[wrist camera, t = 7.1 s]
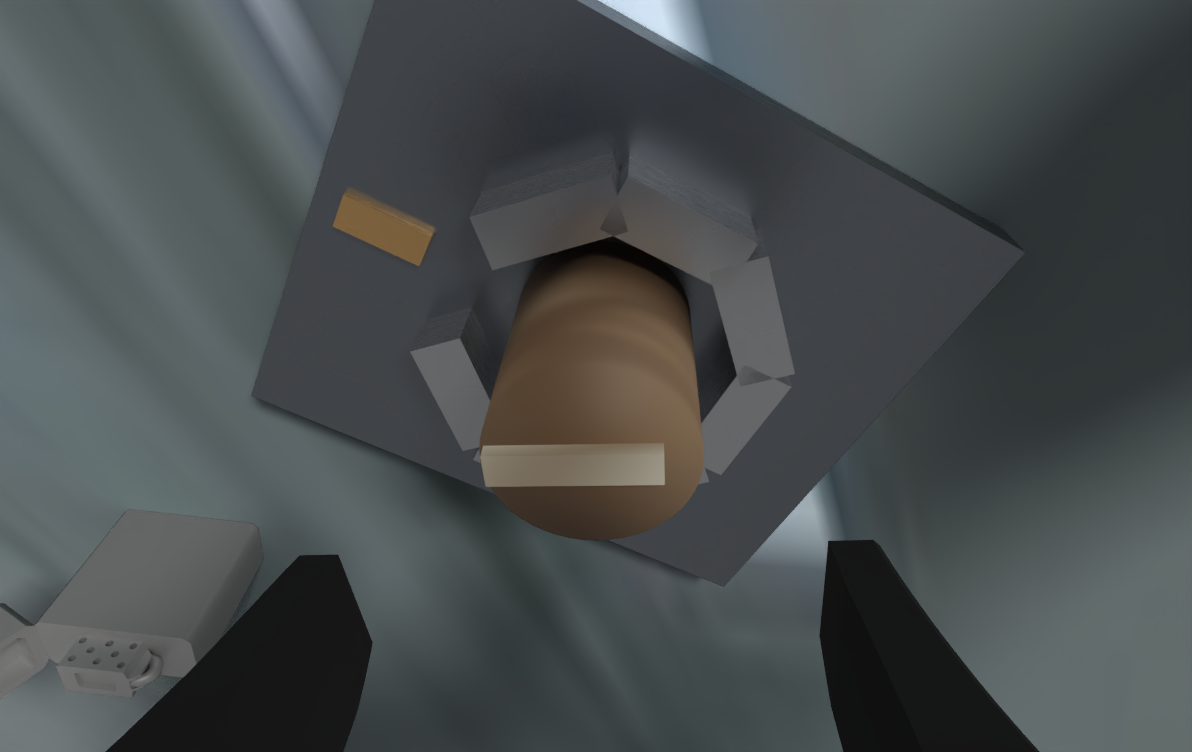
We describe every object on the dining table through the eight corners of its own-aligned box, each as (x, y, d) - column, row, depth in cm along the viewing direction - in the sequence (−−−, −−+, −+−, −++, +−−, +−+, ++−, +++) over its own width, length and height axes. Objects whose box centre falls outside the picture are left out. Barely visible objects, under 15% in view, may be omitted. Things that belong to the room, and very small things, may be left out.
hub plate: (1003, 230, 18) (1054, 282, 15) (720, 556, 24) (727, 626, 22) (421, -100, 15) (382, -92, 12) (270, 369, 21) (226, 429, 19)
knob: (691, 238, 17) (707, 372, 12) (690, 390, 19) (703, 551, 15) (507, 244, 17) (459, 377, 13) (527, 394, 19) (492, 552, 15)
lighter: (257, 524, 24) (108, 777, 17) (264, 562, 25) (125, 817, 18) (26, 497, 24) (-213, 742, 17) (42, 537, 25) (-178, 783, 18)
